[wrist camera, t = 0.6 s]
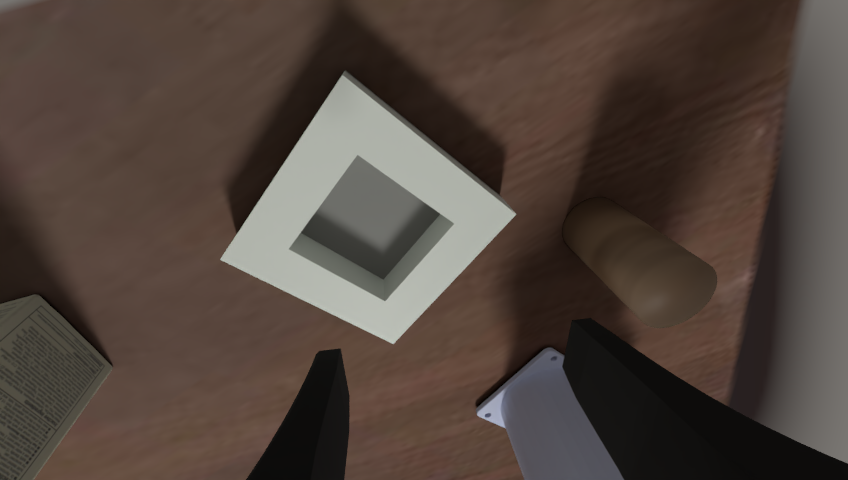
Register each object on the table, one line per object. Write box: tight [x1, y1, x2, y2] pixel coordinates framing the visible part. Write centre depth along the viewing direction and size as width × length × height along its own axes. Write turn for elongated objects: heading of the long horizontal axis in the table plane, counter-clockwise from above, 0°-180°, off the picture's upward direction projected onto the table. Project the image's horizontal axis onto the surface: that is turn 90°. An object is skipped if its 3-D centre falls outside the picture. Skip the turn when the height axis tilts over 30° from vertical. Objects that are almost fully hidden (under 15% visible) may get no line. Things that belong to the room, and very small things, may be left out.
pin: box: [562, 197, 717, 328], centre depth 19 cm, size 4×4×7 cm
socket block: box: [220, 70, 516, 344], centre depth 19 cm, size 10×10×2 cm
